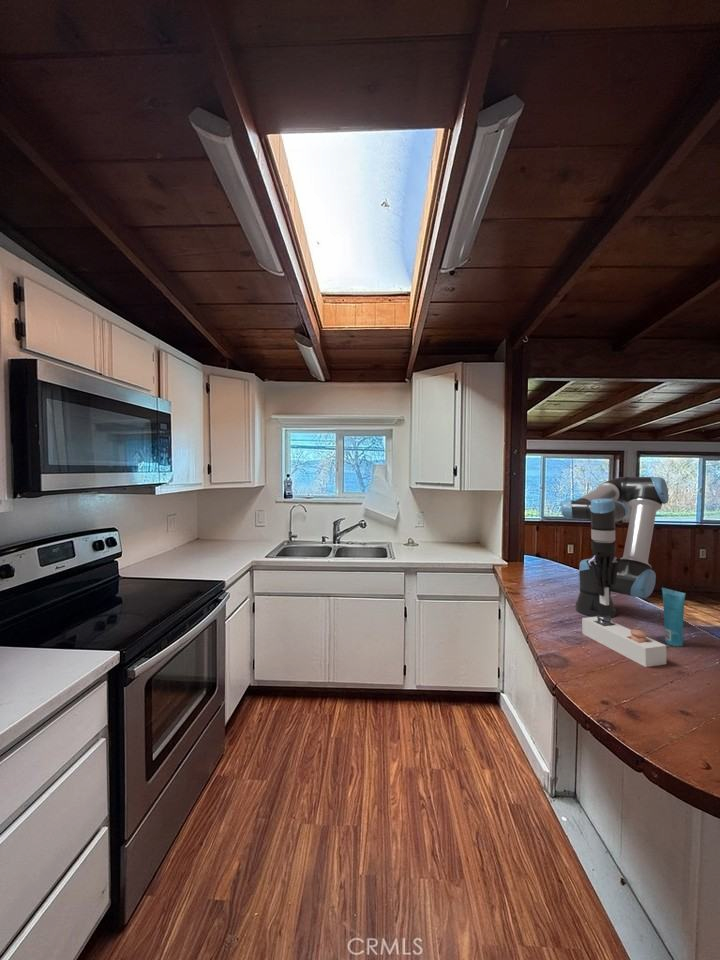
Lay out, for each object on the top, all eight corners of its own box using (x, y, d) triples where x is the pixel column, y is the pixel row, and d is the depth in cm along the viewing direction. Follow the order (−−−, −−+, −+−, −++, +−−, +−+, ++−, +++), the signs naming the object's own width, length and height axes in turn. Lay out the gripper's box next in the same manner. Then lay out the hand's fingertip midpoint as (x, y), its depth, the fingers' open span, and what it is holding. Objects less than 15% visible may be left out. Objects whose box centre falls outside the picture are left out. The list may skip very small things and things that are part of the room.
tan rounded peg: (638, 649, 130) (638, 628, 130) (650, 655, 126) (650, 633, 125) (627, 651, 129) (627, 629, 129) (639, 657, 125) (639, 635, 125)
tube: (689, 646, 134) (689, 592, 134) (682, 649, 132) (682, 594, 131) (665, 638, 141) (664, 586, 140) (658, 641, 138) (657, 588, 138)
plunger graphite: (604, 633, 144) (604, 613, 143) (614, 638, 139) (614, 618, 139) (594, 634, 143) (594, 615, 143) (604, 639, 138) (603, 619, 138)
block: (600, 631, 148) (600, 616, 148) (666, 664, 122) (666, 645, 122) (582, 633, 146) (582, 618, 146) (645, 667, 121) (645, 648, 120)
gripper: (609, 537, 145) (610, 598, 146) (580, 540, 143) (581, 602, 143) (627, 541, 138) (628, 605, 139) (596, 544, 135) (597, 609, 136)
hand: (604, 603), depth 141 cm, fingers closed
